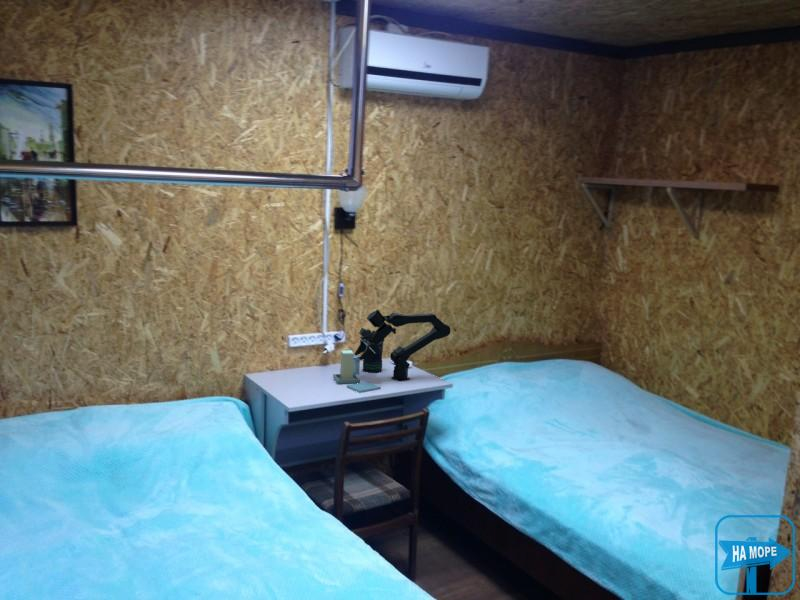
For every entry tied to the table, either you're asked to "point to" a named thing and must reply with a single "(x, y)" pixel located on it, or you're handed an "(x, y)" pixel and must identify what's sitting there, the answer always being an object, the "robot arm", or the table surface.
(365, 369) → the storage jar
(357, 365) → the medicine box
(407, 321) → the robot arm
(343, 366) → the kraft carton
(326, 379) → the table surface
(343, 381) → the charcoal tray
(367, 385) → the slate board
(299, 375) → the table surface
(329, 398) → the table surface
